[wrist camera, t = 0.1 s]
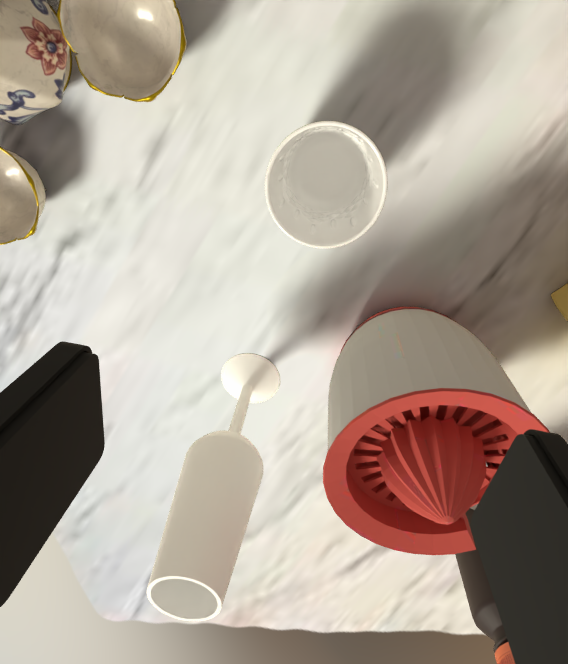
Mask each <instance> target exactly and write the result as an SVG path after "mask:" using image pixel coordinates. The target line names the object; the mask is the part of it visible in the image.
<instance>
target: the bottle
mask: <svg viewBox="0 0 568 664" xmlns="http://www.w3.org/2000/svg"><path fill="white" fill-rule="evenodd" d="M474 511H475V510H473V509H471V508H469V510H468V511H467V512H466V516H467V519H468V522H469V526H470V529H471V518H472V515H473V512H474ZM471 533H472V529H471ZM472 536H473V533H472ZM473 540H474V543H475V547H476V550H472V551H467V552H462V553H457V554H455V555H456V559H457V562H458V566H459V570H460V573H461V577H462V581H463V584H464V588H465V591H466V595H467V599H468V602H469V606H470V610H471V613H472V617H473V619H474V622H475V624H476V626H477V627H478V628H479V629H480V630H481V631H482V632H483V633H484V634H486V635H487V636H488V637H490V638H491V639H493V640H494V641H495V645H494V652H495V658H496V661H497V664H515V661H514V658H513V655H512V652H511V649H510V646H509V643H508V640H507V637H506V634H505V631H504V628H503V625H502V622H501V618H500V615H499V612H498V609H497V606H496V603H495V600H494V597H493V594H492V591H491V588H490V585H489V582H488V579H487V576H486V573H485V570H484V567H483V564H482V561H481V558H480V555H479V552H478V549H477V545H476V542H475V539H474V536H473Z"/></svg>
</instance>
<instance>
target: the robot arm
mask: <svg viewBox="0 0 568 664" xmlns="http://www.w3.org/2000/svg"><path fill="white" fill-rule="evenodd" d="M103 450H104V429H103V414H102V400H101V386H100V372H99V359H98V356H97V355H96V354H92V351H91V349H90V347H88V346H84V345H79V344H74V343H68V342H60V343H58V344H57V345H55V346H54V347H53V348H52V349H51V350H50V351H48V352H47V353H46V354H45V355H44V356H43V357H41V358H40V359H39V360H38V361H37V362H36V363H34V364H33V365H32V366H31V367H30V368H29V369H27V370H26V371H25V372H24V373H23V374H22V375H21V376H19V377H18V378H17V379H16V380H15V381H14V382H12V383H11V384H10V385H9V386H8V387H7V388H5V389H4V390H3V391H2V392H1V393H0V607H1V606H2V605H3V604H4V603H5V602H6V600H7V599H8V598H9V597H10V595H11V593H12V592H13V591H14V589H15V588H16V586H17V585H18V583H19V581H20V580H21V578H22V577H23V575H24V574H25V572H26V571H27V569H28V568H29V566H30V565H31V563H32V562H33V560H34V559H35V557H36V556H37V554H38V553H39V551H40V550H41V548H42V546H43V545H44V544H45V542H46V541H47V539H48V537H49V536H50V535H51V533H52V531H53V530H54V528H55V527H56V525H57V524H58V522H59V521H60V519H61V518H62V516H63V515H64V513H65V512H66V510H67V509H68V507H69V506H70V504H71V503H72V501H73V500H74V498H75V497H76V495H77V494H78V492H79V491H80V489H81V488H82V486H83V485H84V483H85V481H86V480H87V478H88V477H89V475H90V474H91V472H92V471H93V469H94V468H95V466H96V465H97V463H98V462H99V460H100V458H101V456H102V454H103ZM471 529H472V533H473V536H474V539H475V542H476V545H477V549H478V552H479V555H480V558H481V561H482V564H483V567H484V570H485V573H486V576H487V579H488V582H489V585H490V588H491V591H492V594H493V597H494V600H495V603H496V606H497V609H498V612H499V615H500V618H501V622H502V625H503V628H504V631H505V634H506V637H507V640H508V643H509V646H510V649H511V652H512V655H513V658H514V661H515V664H568V444H567V443H566V442H565V440H564V439H563V438H562V437H561V436H560V435H558V434H555V433H549V432H544V431H539V430H533V429H530V430H527V431H525V432H524V434H519V435H517V436H516V437H515V439H514V441H513V442H512V444H511V446H510V448H509V450H508V451H507V453H506V455H505V457H504V458H503V460H502V462H501V464H500V466H499V467H498V469H497V471H496V473H495V475H494V476H493V478H492V480H491V482H490V484H489V485H488V487H487V489H486V491H485V493H484V494H483V496H482V498H481V500H480V502H479V503H478V505H477V507H476V509H475V511H474V512H473V515H472V518H471Z"/></svg>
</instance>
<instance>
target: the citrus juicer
mask: <svg viewBox="0 0 568 664" xmlns="http://www.w3.org/2000/svg"><path fill="white" fill-rule="evenodd" d="M530 429H533V430H539V431H544V432H549V430H548V429H547V428H546V427H545V426H544V425H543V424H542V422H541V421H540V420H539V419H538V418H537V417H536V416H535V415H534V414H532V413H531V412H530V410H529V409H528V407H527V405H526V404H525V402H524V401H523V399H522V398H521V396H520V395H519V393H518V392H517V390H516V388H515V387H514V385H513V384H512V382H511V381H510V379H509V378H508V376H507V375H506V373H505V372H504V370H503V368H502V367H501V365H500V364H499V362H498V361H497V360H496V358H495V357H494V356H493V355H492V353H491V352H490V351H489V350H488V348H487V347H486V346H485V345H484V344H483V343H482V342H481V341H480V340H479V339H478V338H477V337H476V336H474V335H473V334H472V333H471V332H470V331H468V330H467V329H466V328H464V327H462V326H461V325H459V324H458V323H457V322H455V321H454V320H452V319H451V318H449V317H448V316H446V315H443V314H441V313H438V312H436V311H433V310H429V309H424V308H419V307H397V308H391V309H387V310H385V311H382V312H379V313H377V314H375V315H373V316H372V317H370V318H368V319H367V320H366V321H364V322H363V323H362V324H361V325H360V326H358V327H357V328H356V329H355V330H354V332H353V333H352V334H351V335H350V336H349V338H348V339H347V340H346V342H345V344H344V346H343V348H342V350H341V353H340V355H339V357H338V359H337V361H336V364H335V367H334V370H333V374H332V378H331V382H330V388H329V397H328V453H327V456H326V460H325V463H324V466H323V484H324V488H325V491H326V495H327V498H328V500H329V502H330V504H331V506H332V507H333V509H334V511H335V513H336V514H337V515H338V516H339V517H340V518H341V520H342V521H343V522H344V523H345V524H346V525H347V526H348V527H350V528H351V529H352V530H354V531H355V532H356V533H358V534H359V535H360V536H362V537H364V538H366V539H368V540H370V541H372V542H374V543H376V544H378V545H381V546H384V547H387V548H390V549H393V550H397V551H402V552H407V553H412V554H425V555H446V554H457V553H462V552H467V551H472V550H476V547H475V543H474V540H473V536H472V533H471V529H470V526H469V522H468V519H467V516H466V512H467V511H468V510H469V508H471V509H473V510H475V509H476V507H477V505H478V503H479V502H480V500H481V498H482V496H483V494H484V493H485V491H486V489H487V487H488V485H489V484H490V482H491V480H492V478H493V476H494V475H495V473H496V471H497V469H498V467H499V466H500V464H501V462H502V460H503V458H504V457H505V455H506V453H507V451H508V450H509V448H510V446H511V444H512V442H513V441H514V439H515V437H516V436H517V435H519V434H524V432H525V431H527V430H530ZM549 433H550V432H549Z"/></svg>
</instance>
